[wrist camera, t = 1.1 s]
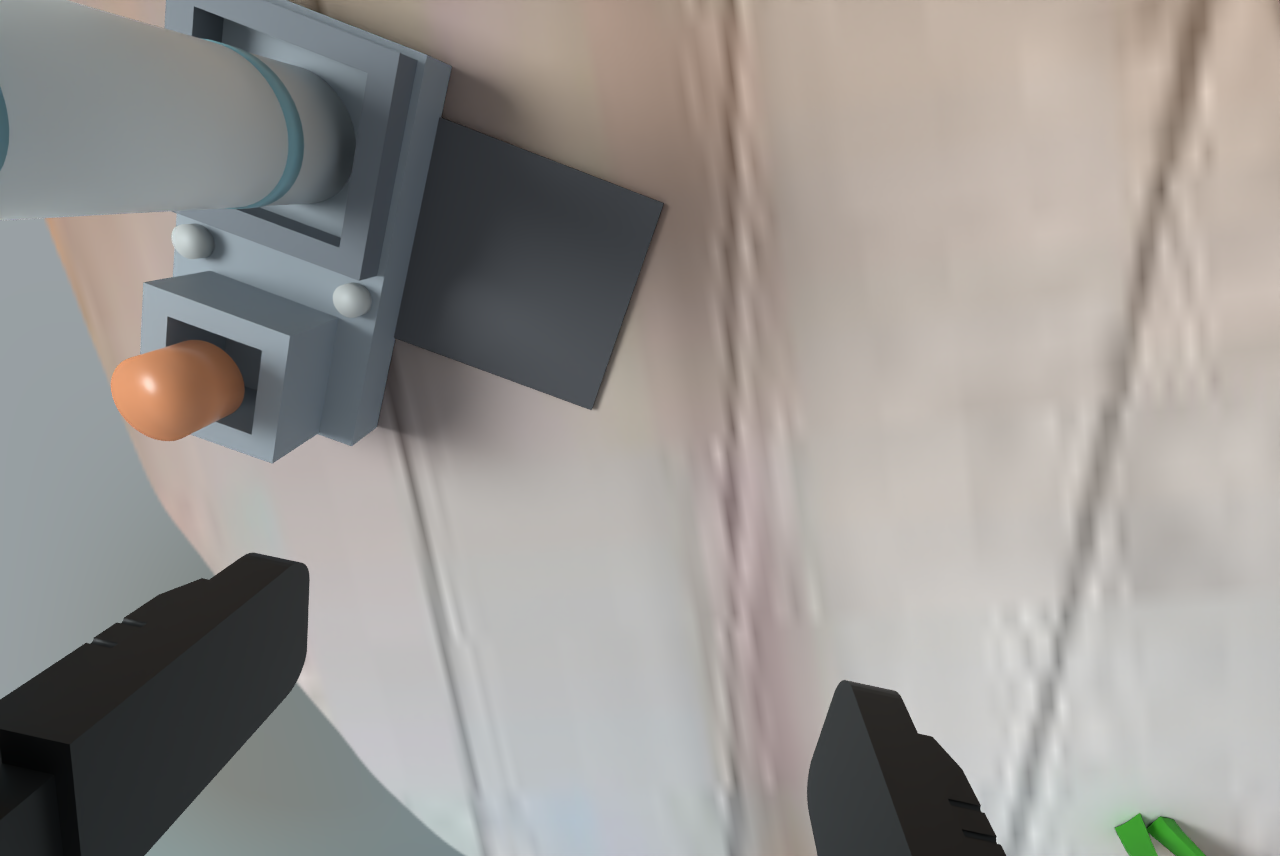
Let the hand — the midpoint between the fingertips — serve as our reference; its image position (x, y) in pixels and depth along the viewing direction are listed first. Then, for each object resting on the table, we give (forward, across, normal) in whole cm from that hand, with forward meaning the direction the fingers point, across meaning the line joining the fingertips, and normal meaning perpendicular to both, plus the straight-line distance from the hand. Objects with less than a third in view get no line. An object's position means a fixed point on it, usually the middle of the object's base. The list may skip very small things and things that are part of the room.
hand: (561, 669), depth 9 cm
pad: (+21, +7, -4) cm, 22 cm away
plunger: (+15, +17, +2) cm, 23 cm away
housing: (+21, +16, -4) cm, 27 cm away
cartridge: (+18, +16, -7) cm, 25 cm away
